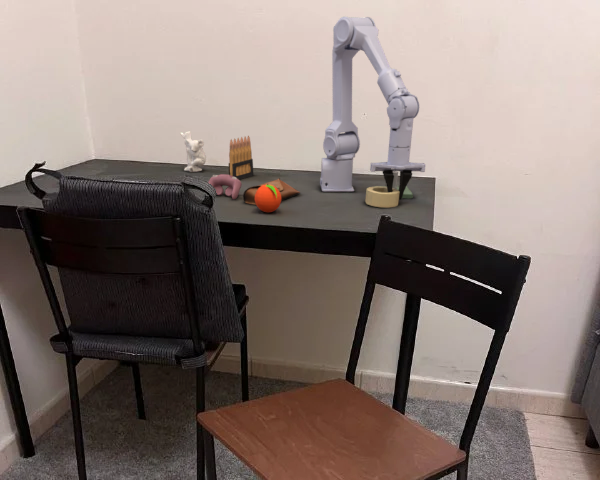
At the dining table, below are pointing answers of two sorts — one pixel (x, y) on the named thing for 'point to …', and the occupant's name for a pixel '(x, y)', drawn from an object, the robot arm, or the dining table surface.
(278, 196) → the clementine
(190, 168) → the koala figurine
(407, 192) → the peg stand
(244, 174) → the ammunition clip
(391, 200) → the masking tape roll
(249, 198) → the sunglasses case
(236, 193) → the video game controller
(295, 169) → the dining table surface
